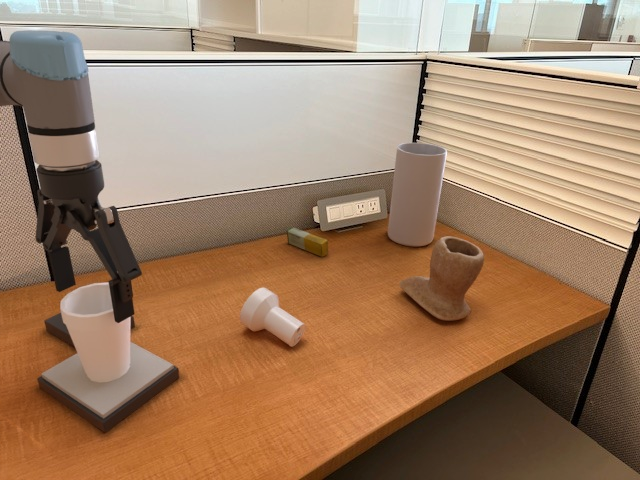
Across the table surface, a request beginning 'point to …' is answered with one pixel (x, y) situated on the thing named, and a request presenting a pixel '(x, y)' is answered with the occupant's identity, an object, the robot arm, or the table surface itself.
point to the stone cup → (447, 279)
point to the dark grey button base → (65, 328)
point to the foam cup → (97, 332)
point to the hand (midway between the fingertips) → (94, 302)
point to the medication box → (307, 241)
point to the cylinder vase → (416, 193)
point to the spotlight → (271, 317)
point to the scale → (108, 387)
